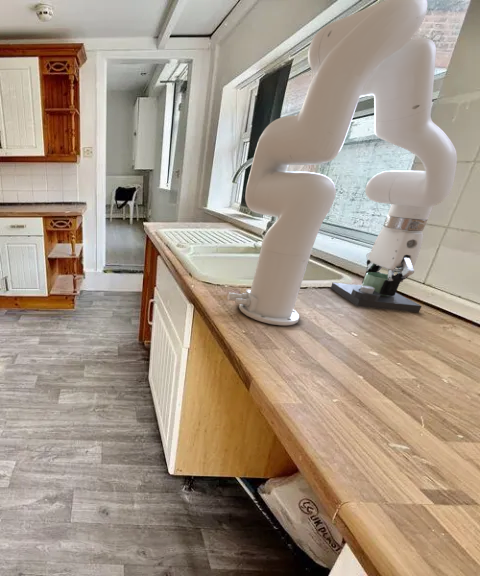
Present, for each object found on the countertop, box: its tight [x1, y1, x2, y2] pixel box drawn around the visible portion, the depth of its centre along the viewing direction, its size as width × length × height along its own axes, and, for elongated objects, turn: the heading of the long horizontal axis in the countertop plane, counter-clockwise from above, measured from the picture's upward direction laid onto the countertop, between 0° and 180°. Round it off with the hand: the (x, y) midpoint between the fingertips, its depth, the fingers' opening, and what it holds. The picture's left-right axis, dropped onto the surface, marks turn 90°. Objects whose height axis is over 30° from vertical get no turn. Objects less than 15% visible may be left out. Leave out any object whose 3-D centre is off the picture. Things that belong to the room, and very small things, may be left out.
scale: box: [330, 282, 422, 313], centre depth 83 cm, size 14×13×4 cm
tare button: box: [360, 285, 375, 294], centre depth 79 cm, size 3×3×2 cm
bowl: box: [361, 271, 389, 296], centre depth 83 cm, size 7×7×5 cm
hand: (377, 289), depth 84 cm, fingers closed on bowl, 6 cm apart
